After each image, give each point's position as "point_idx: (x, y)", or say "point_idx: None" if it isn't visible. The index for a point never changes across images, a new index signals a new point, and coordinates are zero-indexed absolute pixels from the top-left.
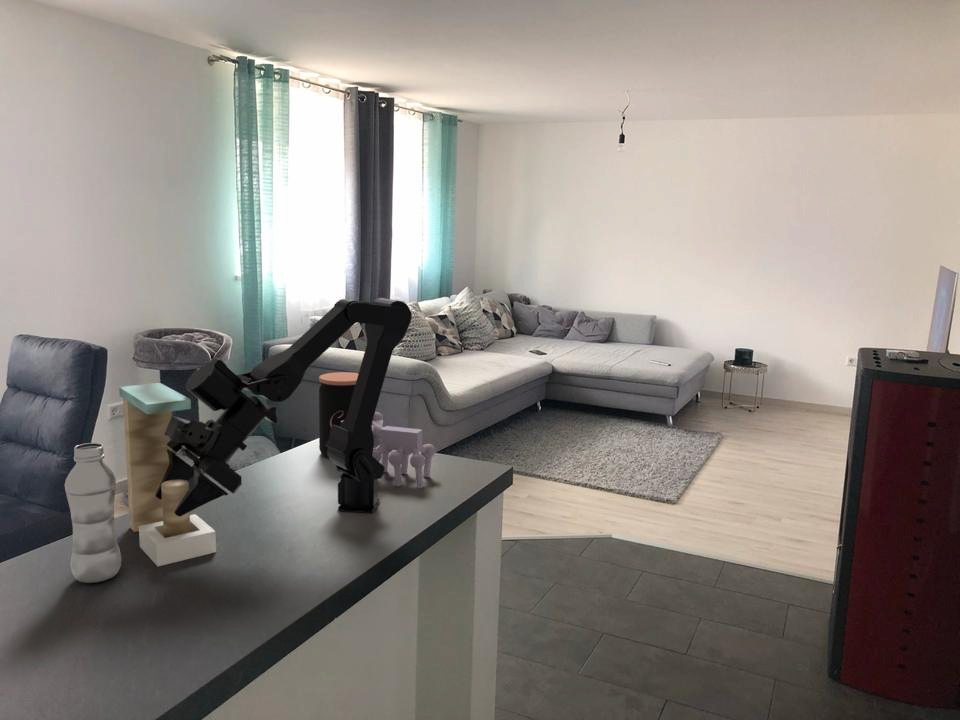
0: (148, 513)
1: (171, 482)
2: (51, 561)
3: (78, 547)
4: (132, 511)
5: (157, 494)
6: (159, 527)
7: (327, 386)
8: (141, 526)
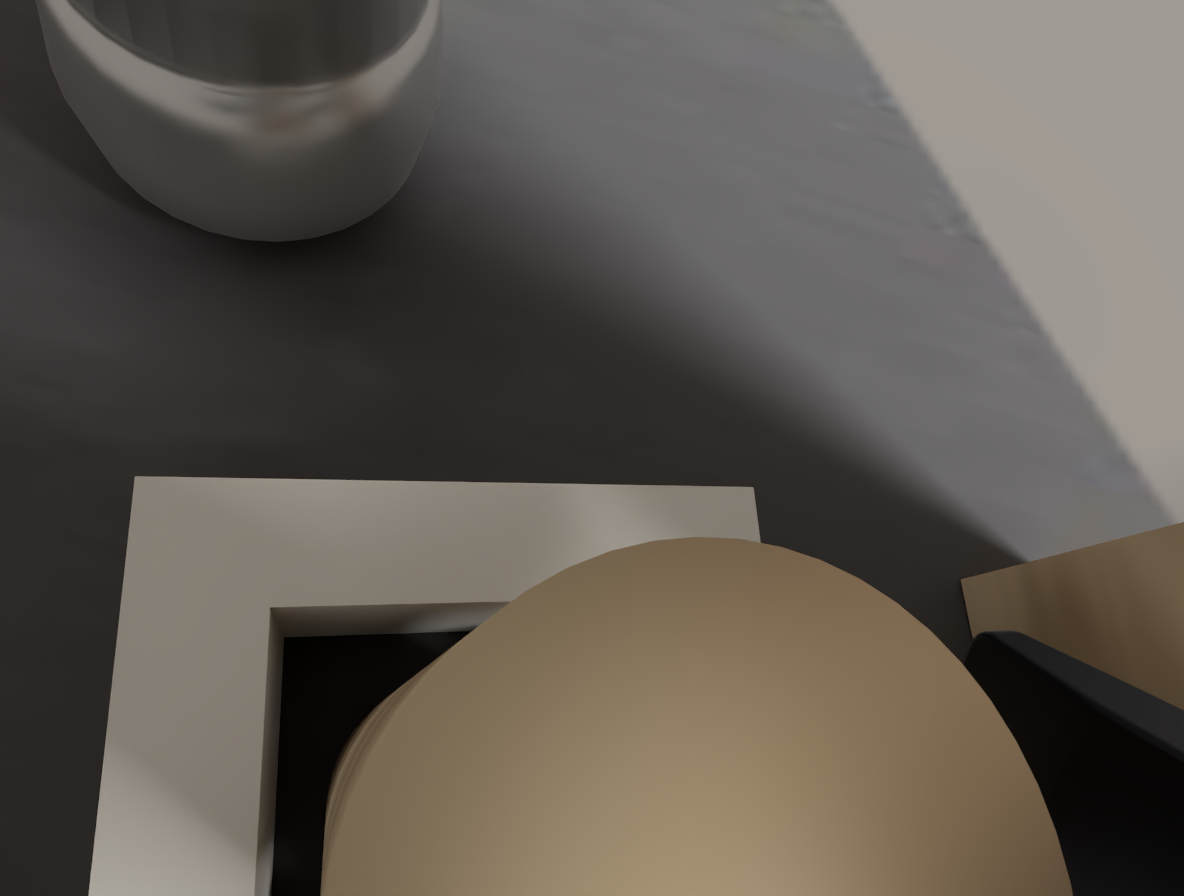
0: None
1: (874, 858)
2: (705, 63)
3: None
4: (1110, 546)
5: (999, 653)
6: None
7: None
8: (730, 503)
